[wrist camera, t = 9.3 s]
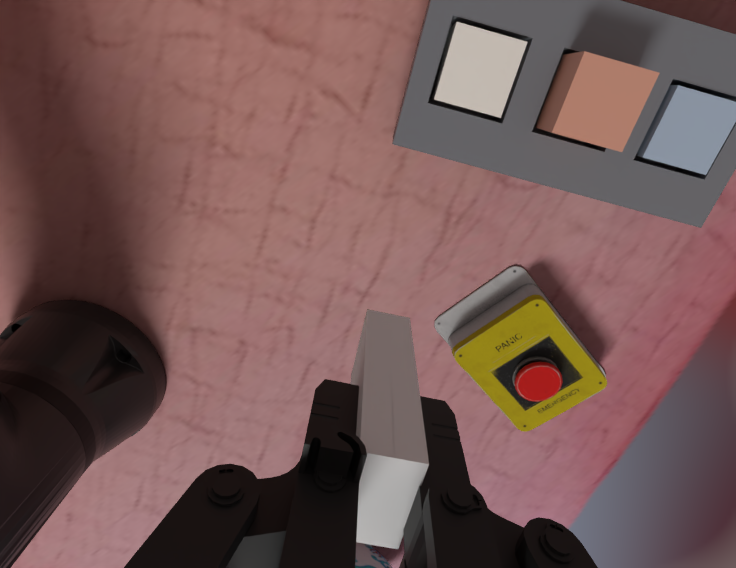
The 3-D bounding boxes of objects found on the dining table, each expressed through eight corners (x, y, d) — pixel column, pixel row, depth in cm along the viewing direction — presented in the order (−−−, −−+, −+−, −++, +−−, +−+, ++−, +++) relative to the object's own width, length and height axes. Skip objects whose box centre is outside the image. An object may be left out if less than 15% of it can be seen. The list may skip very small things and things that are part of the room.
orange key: (535, 127, 30) (551, 132, 27) (563, 54, 28) (584, 51, 25) (597, 144, 30) (622, 152, 27) (630, 73, 28) (659, 72, 25)
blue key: (618, 149, 32) (642, 157, 29) (648, 84, 31) (678, 85, 27) (675, 165, 33) (705, 174, 29) (709, 102, 31) (745, 104, 28)
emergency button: (534, 455, 41) (432, 345, 37) (521, 422, 45) (428, 319, 41) (629, 404, 38) (530, 279, 34) (607, 374, 42) (516, 258, 38)
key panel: (393, 136, 34) (392, 144, 30) (437, -33, 30) (444, -52, 26) (665, 210, 35) (701, 227, 31) (748, 57, 31) (802, 54, 27)
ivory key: (430, 97, 32) (434, 99, 28) (450, 28, 30) (456, 21, 27) (490, 114, 32) (500, 118, 29) (513, 46, 30) (527, 42, 27)
